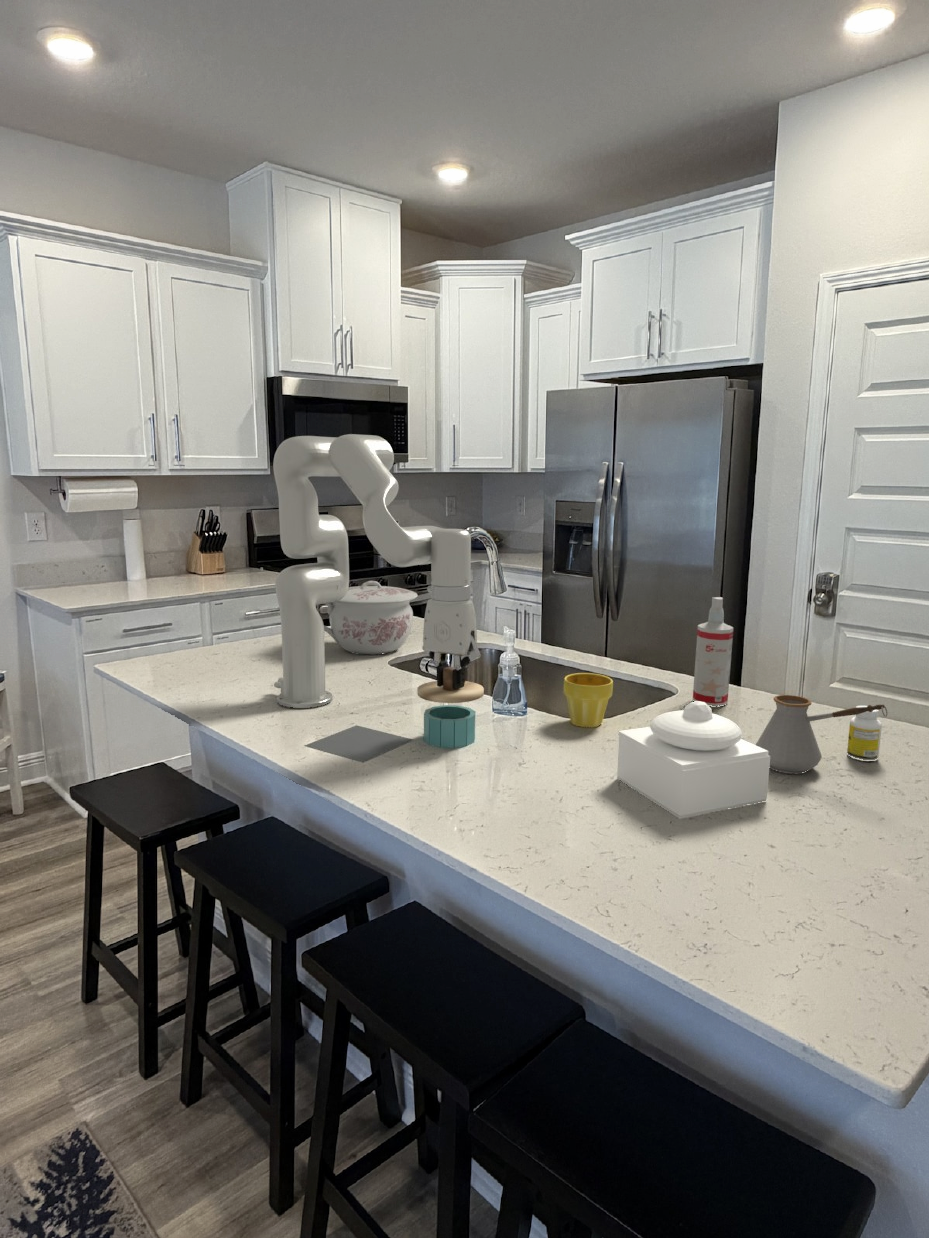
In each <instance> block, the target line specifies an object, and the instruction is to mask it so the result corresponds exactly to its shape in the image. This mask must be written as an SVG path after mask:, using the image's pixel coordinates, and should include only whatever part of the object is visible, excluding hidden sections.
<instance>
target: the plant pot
mask: <svg viewBox="0 0 929 1238" xmlns="http://www.w3.org/2000/svg"><path fill="white" fill-rule="evenodd" d="M613 689H614V680H613V679H612V678H611V677H609V676H607V675H603V674H598V673H593V672H592V673H591V672H577V673H571V674H568V675H565V677H564V678H563V694H564V696H566V701H567V706H568V712H569V713H568V714H569V717H570V718H569V719H570V723H571V724H572V725H574V726H577V727H579V726H580V728H587V727H589V728H590V727H591V728H597V727H600V726H601V725H602V724H601V723H603V720H604V716H605V712H606V709H607V707H608V702H609V700H610V699H611V697H612V696H613V692H614V691H613ZM600 724H601V725H600ZM599 725H600V726H599Z"/></svg>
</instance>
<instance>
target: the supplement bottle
mask: <svg viewBox="0 0 929 1238" xmlns="http://www.w3.org/2000/svg"><path fill="white" fill-rule="evenodd" d="M867 706H868V705H856V706H855V707H867ZM879 713H880V710H873V711H872V712H869V711H867V712H864V713H860V714H858V715H855V716H854V717H852V718H851V719H850V720H849V727H848V728H849V729H848V737H847V738H848V739H847V748H846V749H847V750H846V751H847V752H846V753H848V755H850V756H853V757H855V758H859V759H863V760H875V759H877V758H878V759H879V756H880V748H881V747H880V746H881V745H880V744H881V735H882V727H883V726H882V724H883V723H882V722H881V721H880V720H879V719H878V718H879ZM848 755H847V756H848Z"/></svg>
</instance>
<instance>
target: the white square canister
mask: <svg viewBox="0 0 929 1238" xmlns="http://www.w3.org/2000/svg"><path fill="white" fill-rule="evenodd" d="M712 710H713V709H712V707H709V706H708V705H707V704H706V703H705V702H701V701H694V702H693V701H691V702H689V703H688V704H687V705H686V706H685V707H684V709H682V710H681V709H680V710H673V711H667V712H664V713H661V714H659V715H657V716H655V717H654V718H653V719H652V720H651V722H650V725H649V726H647V727H646V726H645V727H639V728H632V729H631V728H630V729H625V730H623V729H622V730H618V732H617V734H618V754H617V755H618V756H617V771H616V776H617V777H616V779H617V780H618V781H619V780H621V781H622V782H623V784H624V783H625V784H624V785H626V784H627V785H628V787H629V788H630V787H632V788H633V789H634V790H633V789H632V788H631V789H632V790H633V791H635V790H637V791H638V792H639V794H640V795H641V794H643V795H644V796H645V797H644V796H643V795H642V796H643V797H644V798H646V797H647V798H646V799H648V800H649V799H650V800H649V801H651V802H652V801H653V802H652V803H656V805H657V804H658V805H657V806H659V807H660V806H661V807H660V808H661V809H663V808H664V810H665V811H666V810H667V811H666V812H668V811H669V812H668V813H670V814H671V815H673V816H675V817H676V818H677V819H680V820H683V819H687V818H693V817H698V816H701V815H700V814H703V815H708V814H711V813H710V812H713V813H715V812H714V811H718V812H722V811H721V810H723V811H726V810H725V809H728V808H733V809H736V808H735V807H738V808H741V807H740V806H743V805H747V804H753V805H755V804H754V803H758V802H762V801H766V802H767V798H768V797H767V796H768V789H769V788H768V786H769V777H770V776H769V775H770V769H769V767H770V756H769V755H768V752H769V751H767V750H765V749H763V748H761V747H758V746H756V744H754V743H751V742H749V741H746V740H744V739H742V737H743V733H742V729H741V728H740V727H739V726H738V724H737V723H735V722H734V721H732V720H731V719H729V718H726V717H725V716H721V715H719V714H716V713H713V711H712ZM621 781H620V782H621ZM622 782H621V783H622ZM627 785H626V786H627ZM637 791H636V792H637ZM638 792H637V793H638ZM743 807H744V806H743ZM728 810H729V809H728ZM707 813H708V814H707ZM697 815H698V816H697Z"/></svg>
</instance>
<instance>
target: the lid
mask: <svg viewBox="0 0 929 1238" xmlns="http://www.w3.org/2000/svg"><path fill="white" fill-rule="evenodd" d="M453 669H455V666H449V667H445V668H443V686H441V687H439V686H437V680H431V681H429V682H424V683H422V684H420V685H419V686H418V687H417V692H416V693H417V696H418V698H420V699H422V700H425V701H428V702H434V703H443V704H456V703H457V704H459V703H460V704H461V703H468V702H474V701H477V700H479V699H481V698H482V697H484V695H485V692H484V691H485V688H484V687H483V685H481V684H479V683H476V682H473V681H468V680H465V683H464V687H462V688H459V689H457V690H455V689H453Z"/></svg>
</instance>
